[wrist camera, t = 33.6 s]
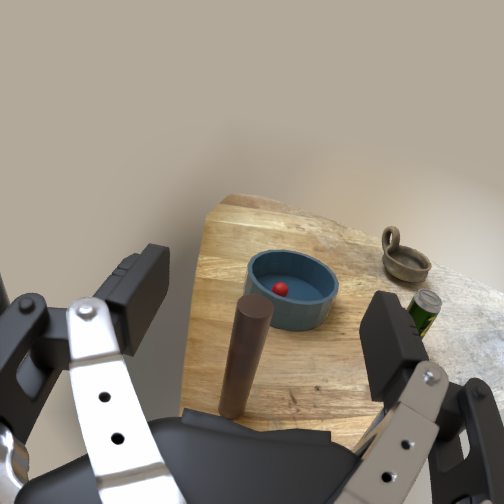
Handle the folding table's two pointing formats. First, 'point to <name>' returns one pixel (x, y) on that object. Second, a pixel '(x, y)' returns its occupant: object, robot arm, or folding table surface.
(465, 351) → the folding table surface
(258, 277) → the mixing bowl
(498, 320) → the folding table surface
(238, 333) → the brown wooden rod
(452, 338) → the folding table surface
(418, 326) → the beer can
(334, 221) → the folding table surface
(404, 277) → the bowl
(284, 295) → the cherry
